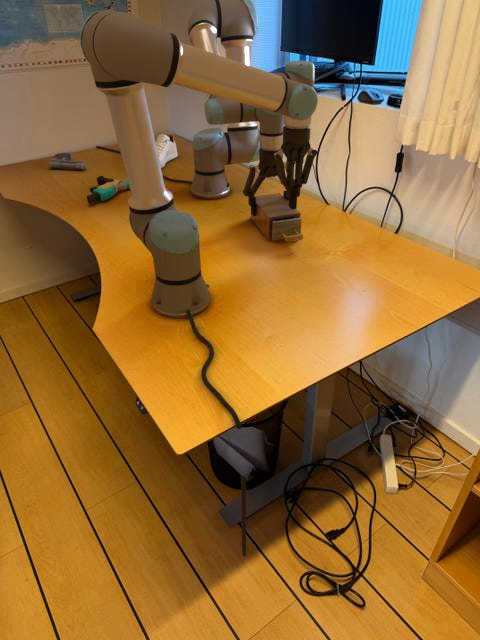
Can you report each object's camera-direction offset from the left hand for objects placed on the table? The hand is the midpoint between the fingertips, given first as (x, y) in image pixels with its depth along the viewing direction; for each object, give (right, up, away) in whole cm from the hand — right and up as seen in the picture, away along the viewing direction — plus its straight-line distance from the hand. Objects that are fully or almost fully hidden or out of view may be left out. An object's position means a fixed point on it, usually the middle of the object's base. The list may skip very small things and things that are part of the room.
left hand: (292, 207), depth 144 cm
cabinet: (-4, -2, +19) cm, 20 cm away
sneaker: (-53, +37, +74) cm, 99 cm away
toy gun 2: (-70, +16, +45) cm, 84 cm away
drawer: (-2, -5, +14) cm, 15 cm away
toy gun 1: (-93, +37, +74) cm, 124 cm away
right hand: (-6, +3, +21) cm, 22 cm away
